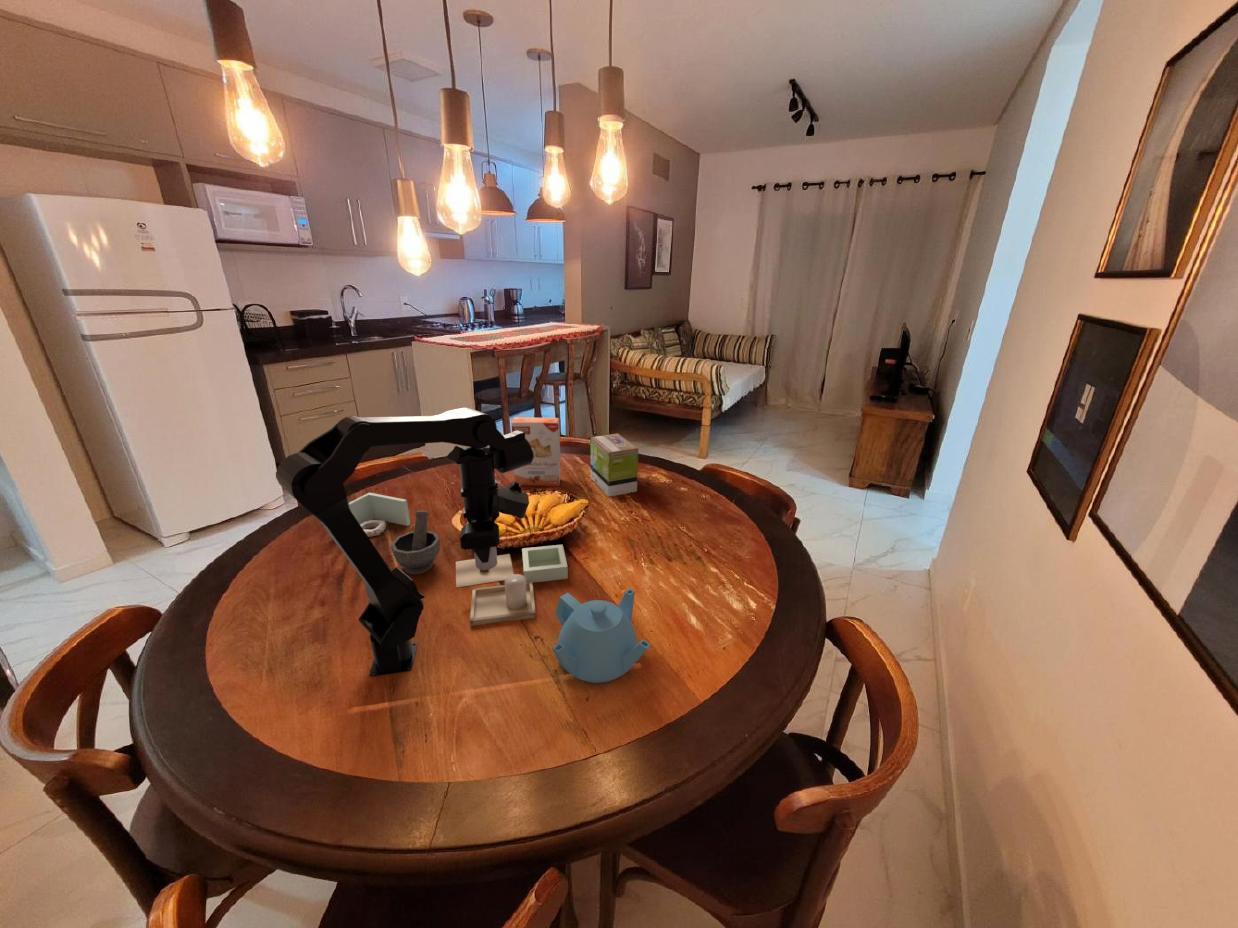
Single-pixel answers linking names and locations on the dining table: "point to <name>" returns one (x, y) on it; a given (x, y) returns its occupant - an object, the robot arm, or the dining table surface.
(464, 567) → the tray lid
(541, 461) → the cracker box
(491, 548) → the grey rounded piece
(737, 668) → the dining table surface
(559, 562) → the sage bin
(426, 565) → the mortar and pestle
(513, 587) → the pale pebble
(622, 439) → the tea box
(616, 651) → the teapot
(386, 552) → the dining table surface
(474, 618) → the birch tray
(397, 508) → the right angle wall
